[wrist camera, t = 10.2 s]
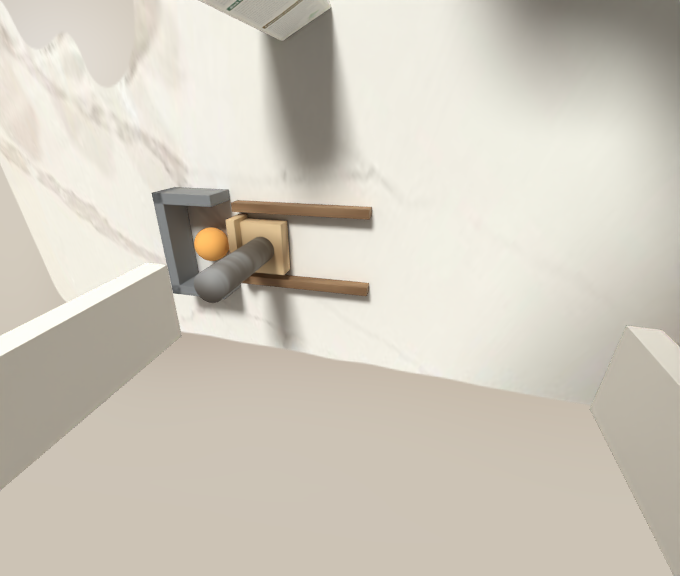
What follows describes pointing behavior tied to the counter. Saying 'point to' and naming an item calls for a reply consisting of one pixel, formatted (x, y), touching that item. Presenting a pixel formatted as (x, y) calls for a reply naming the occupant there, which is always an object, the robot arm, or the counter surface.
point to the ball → (211, 244)
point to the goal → (182, 231)
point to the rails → (305, 210)
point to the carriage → (246, 256)
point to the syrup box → (273, 13)
